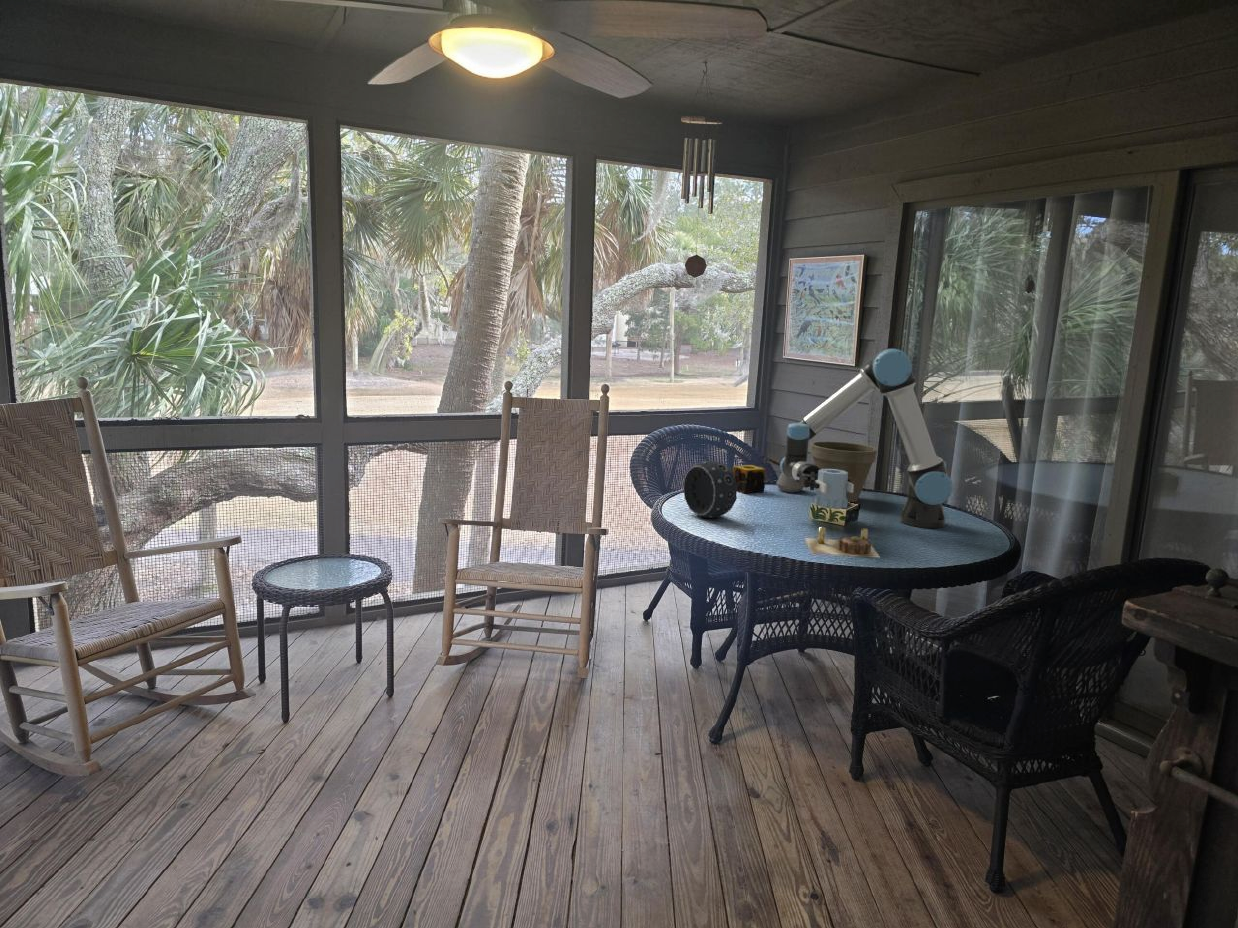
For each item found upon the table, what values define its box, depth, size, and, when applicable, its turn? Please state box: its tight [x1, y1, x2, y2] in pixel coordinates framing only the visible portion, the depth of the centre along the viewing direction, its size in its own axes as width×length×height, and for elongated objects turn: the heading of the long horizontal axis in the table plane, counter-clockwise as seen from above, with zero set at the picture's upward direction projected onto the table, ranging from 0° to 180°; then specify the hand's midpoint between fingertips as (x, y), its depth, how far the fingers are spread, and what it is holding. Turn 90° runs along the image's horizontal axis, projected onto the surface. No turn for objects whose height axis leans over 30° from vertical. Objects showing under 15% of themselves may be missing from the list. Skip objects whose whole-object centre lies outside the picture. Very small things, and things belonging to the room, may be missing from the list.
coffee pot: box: [763, 457, 805, 493], centre depth 329 cm, size 21×12×15 cm, turn 125°
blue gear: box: [813, 469, 849, 510], centre depth 255 cm, size 10×10×11 cm
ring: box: [682, 460, 738, 519], centre depth 283 cm, size 11×20×20 cm, turn 33°
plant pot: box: [810, 441, 878, 503], centre depth 318 cm, size 25×25×22 cm
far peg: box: [859, 527, 869, 540], centre depth 249 cm, size 2×2×5 cm
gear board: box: [804, 537, 881, 559], centre depth 246 cm, size 20×17×2 cm
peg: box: [817, 526, 827, 544], centre depth 250 cm, size 2×2×5 cm
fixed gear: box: [838, 535, 872, 555], centre depth 243 cm, size 9×9×4 cm
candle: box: [732, 464, 767, 495], centre depth 329 cm, size 10×10×10 cm
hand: (838, 488), depth 250 cm, fingers closed on blue gear, 8 cm apart
